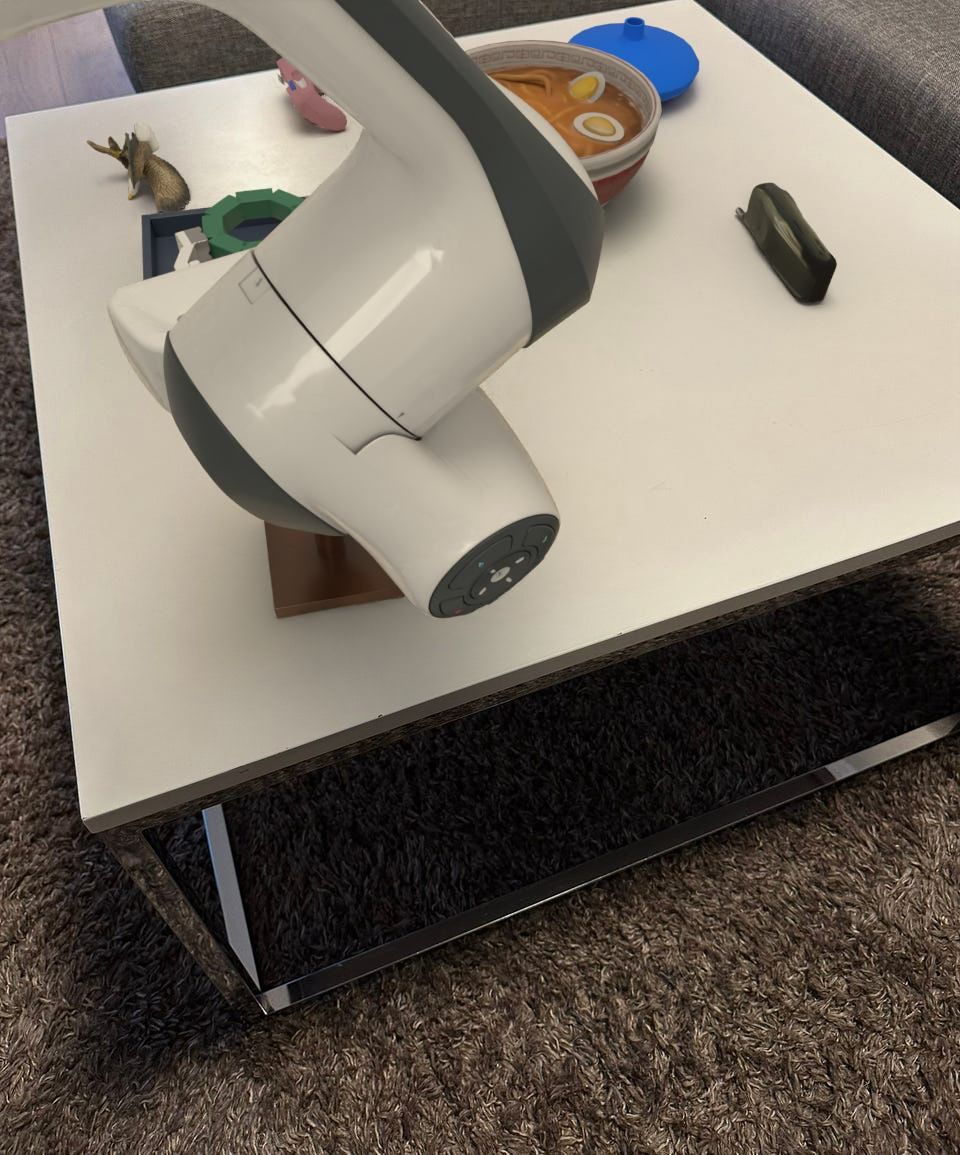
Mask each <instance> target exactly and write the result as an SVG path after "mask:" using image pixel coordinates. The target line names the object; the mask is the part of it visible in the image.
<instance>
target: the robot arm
mask: <svg viewBox="0 0 960 1155" xmlns="http://www.w3.org/2000/svg"><path fill="white" fill-rule="evenodd" d="M153 1H162V2H163V1H164V2H165V1H166V2H167V1H169V2H170V1H171V2H172V1H174V2H175V1H178V2H182V3H183V2H184V3H191V4H198V5H201V6H204V7H208V8H210V9H213V10H216V11H219V12H221V13H223V14H225V15H227V16H229V17H230V18H232V19H234V20H236V21H237V22H239V23H240V24H241V25H242V26H244V27H245V28H247V29H248V30H249V31H251V32H252V33H254V34H255V35H256V36H257V37H258V38H259V39H261V40H262V41H263V42H264V43H265V44H266V45H268V46H269V47H270V48H271V49H272V50H273V51H275V52H276V53H277V54H278V55H279V56H280V57H281V58H282V57H283V58H284V59H285V60H286V61H288V62H289V63H290V64H291V65H292V66H293V67H295V68H296V69H297V70H298V71H299V72H300V73H301V74H303V75H304V76H305V77H306V78H307V79H308V80H310V81H311V82H312V83H313V84H314V85H315V86H317V87H318V88H319V89H320V90H321V91H322V92H324V93H323V94H324V95H325V96H326V97H328V98H329V99H330V100H331V101H333V102H334V103H335V104H336V105H337V106H339V107H340V108H341V109H342V110H343V111H344V112H345V113H347V114H348V115H349V116H350V117H351V118H353V120H355V121H356V122H357V123H359V125H361V126H362V128H361V131H360V134H359V136H358V140H357V142H356V143H355V145H354V147H353V148H352V150H351V151H350V153H349V155H348V156H347V157H346V158H345V160H344V161H343V162H342V163H341V164H340V165H339V166H338V167H337V168H336V169H335V170H334V171H333V172H332V173H331V174H330V175H329V176H328V177H327V178H326V179H324V181H323V182H322V183H320V185H318V186H317V187H316V188H315V189H314V191H312V192H311V193H310V194H309V195H305V196H306V197H305V200H304V201H303V202H302V203H301V204H300V205H299V206H298V207H297V208H296V209H295V210H294V211H293V212H292V213H291V214H290V215H289V216H288V217H287V218H286V219H285V220H284V221H283V222H282V223H280V224H279V225H278V226H277V227H276V228H275V229H274V230H273V231H272V232H271V233H270V234H269V235H268V236H267V237H266V238H265V239H264V240H263V241H262V242H261V243H260V244H259V245H258V246H257V247H254V248H251V249H247V250H244V251H240V252H237V253H234V254H230V255H227V256H224V257H220V258H217V259H214V260H213V258H212V255H211V254H210V246H209V242H208V239H207V237H206V236H205V234H204V233H202V229H201V228H200V227H196V228H192V229H188V230H184V231H181V232H177V233H175V237H176V241H177V244H178V248H179V251H180V252H179V255H178V257H177V260H176V262H175V265H174V268H175V271H173V272H170V273H167V274H163V275H160V276H157V277H153V278H150V279H146V280H143V279H142V280H140V281H137V282H133V283H129V284H125V285H122V286H120V287H118V288H116V289H115V290H114V291H113V293H112V294H111V296H110V298H109V299H108V300H107V302H106V310H107V314H108V316H109V319H110V322H111V325H112V328H113V330H114V333H115V336H116V338H117V341H118V343H119V345H120V348H121V350H122V351H123V353H124V356H125V358H126V360H127V362H128V363H129V365H130V367H131V368H132V370H133V372H134V373H135V375H136V376H137V378H139V379H138V380H140V382H141V383H142V385H143V386H144V387H145V389H146V390H147V392H149V394H150V395H151V396H152V397H153V398H154V400H155V401H156V402H157V403H158V404H159V405H160V407H162V409H164V410H165V411H167V413H169V414H170V415H171V416H172V418H173V421H174V423H175V425H176V427H177V429H178V431H179V433H180V434H181V436H182V438H183V440H184V442H185V443H186V444H187V447H188V448H189V449H190V451H191V452H192V454H193V455H194V457H195V459H196V460H197V462H198V463H199V464H200V466H201V467H202V468H203V470H204V471H205V472H206V474H207V475H208V476H209V478H210V479H211V480H212V482H213V483H214V484H215V485H216V486H217V487H218V488H219V489H220V491H222V493H224V494H225V496H227V497H228V498H229V499H230V500H231V501H233V502H234V504H236V505H237V506H239V507H240V508H242V509H243V510H244V511H246V512H247V513H249V514H250V515H251V516H254V517H255V518H257V519H259V520H261V521H263V522H264V521H265V522H268V523H271V524H273V525H276V526H280V527H285V528H290V529H296V530H301V531H305V532H311V533H316V534H322V535H330V536H347V535H348V534H349V535H350V536H352V537H353V538H354V539H355V540H356V541H357V542H358V543H359V544H360V545H361V546H362V547H363V548H364V549H365V550H366V551H367V552H368V553H369V554H370V555H371V556H372V557H373V558H374V559H375V560H376V561H377V563H378V564H379V565H380V566H381V567H382V568H383V570H384V571H385V572H386V573H387V574H388V575H389V577H390V578H391V579H392V580H393V581H394V582H395V584H396V585H397V586H398V587H399V588H400V590H401V591H402V592H403V593H404V596H405V597H406V598H407V599H408V600H409V601H410V602H411V603H412V604H413V606H415V608H416V609H418V610H419V611H420V612H422V613H423V614H425V615H427V616H429V617H430V618H433V619H439V620H440V619H441V620H443V619H444V620H445V619H450V618H455V617H462V616H463V617H464V616H466V615H469V614H472V613H474V612H476V611H477V610H480V609H482V608H484V607H485V606H490V605H491V604H492V603H494V602H495V601H497V600H498V599H500V598H501V597H502V596H503V595H505V594H506V593H508V592H509V591H510V590H511V589H513V588H514V587H515V586H516V585H518V583H520V582H521V581H522V580H523V579H524V578H526V577H527V576H528V575H529V574H530V573H531V572H532V571H533V570H534V569H535V568H537V567H538V566H539V565H540V564H541V563H542V561H544V560H545V558H546V556H547V555H548V553H549V551H550V549H551V548H552V546H553V545H554V543H555V541H556V539H557V537H558V535H559V531H560V528H561V514H560V512H559V509H558V507H557V503H556V501H555V499H554V498H553V495H552V494H551V492H550V490H549V488H548V485H547V484H546V481H545V480H544V478H543V476H542V475H541V473H540V471H539V469H538V468H537V466H536V464H535V463H534V461H533V459H532V457H531V456H530V453H529V452H528V450H527V449H526V448H525V446H524V444H523V443H522V440H520V438H519V436H518V435H517V433H516V432H515V431H514V429H513V428H512V426H511V425H510V423H509V422H508V421H507V419H506V418H505V417H504V415H503V414H502V413H501V411H500V410H499V408H498V407H497V405H496V404H495V403H494V402H493V400H492V399H491V398H490V397H489V395H488V394H487V392H485V391H484V390H483V388H482V387H481V385H482V384H483V383H484V382H485V381H487V379H489V377H491V376H492V375H493V374H494V373H495V372H497V371H498V370H499V369H500V368H501V367H502V366H504V365H505V364H506V363H507V362H508V361H509V360H510V359H511V358H513V357H514V356H515V355H516V354H517V353H518V352H519V351H521V349H528V348H529V347H530V346H532V345H533V344H535V343H536V342H538V340H540V339H541V338H542V337H544V336H545V335H546V334H548V333H549V332H551V331H552V330H553V329H555V328H556V327H558V326H559V325H560V324H561V323H563V322H564V321H565V320H567V319H568V318H570V317H571V316H572V315H574V314H575V313H576V312H577V311H579V310H580V309H581V308H583V307H584V306H586V305H588V303H589V302H590V301H591V297H592V294H593V290H594V287H595V282H596V279H597V274H598V270H599V265H600V260H601V255H602V247H603V241H604V232H605V229H604V228H605V214H606V213H605V210H604V208H603V207H602V206H601V205H600V203H599V201H598V198H597V194H596V192H595V189H594V186H593V184H592V182H591V180H590V178H589V176H588V174H587V172H586V170H585V168H584V167H583V165H582V164H581V162H580V160H579V159H578V157H577V156H576V154H575V153H574V152H573V150H572V149H571V148H570V146H569V145H568V144H567V143H566V141H565V140H564V139H563V138H562V137H561V135H560V134H559V133H558V132H557V131H556V130H555V129H554V128H553V127H552V126H551V125H550V124H549V123H548V122H547V121H546V120H545V119H544V118H543V117H542V116H541V115H540V114H539V113H538V112H536V111H535V110H534V109H533V108H532V107H531V106H529V105H528V104H527V103H526V102H524V101H523V100H522V99H521V98H519V97H518V96H517V95H515V94H514V93H512V92H511V91H510V90H508V89H507V88H505V87H504V86H502V85H501V84H500V83H498V82H497V81H495V80H494V79H492V78H491V77H490V76H488V75H487V74H485V73H484V72H483V71H482V70H481V69H480V68H479V67H478V66H477V64H476V63H475V62H474V61H473V60H472V59H471V58H470V57H469V56H468V55H467V54H466V52H465V51H466V50H464V49H463V48H462V47H461V46H460V44H459V42H458V41H457V40H456V38H454V36H453V35H452V34H451V32H450V31H448V30H447V29H446V28H445V27H444V25H443V24H442V22H441V21H440V20H439V19H438V18H437V17H436V16H435V15H434V14H433V12H432V11H431V9H429V8H428V7H427V6H426V5H425V4H424V3H423V1H421V0H0V44H1V43H3V42H7V41H9V40H11V39H14V38H16V37H19V36H21V35H25V34H27V33H29V32H31V31H34V30H37V29H39V28H43V27H46V26H49V25H52V24H56V23H58V22H59V23H60V22H62V21H65V20H68V19H71V18H74V17H77V16H81V15H85V14H88V13H92V12H95V11H99V10H104V9H108V8H114V7H118V6H122V5H127V4H134V3H135V4H136V3H143V2H153Z"/></svg>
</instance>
